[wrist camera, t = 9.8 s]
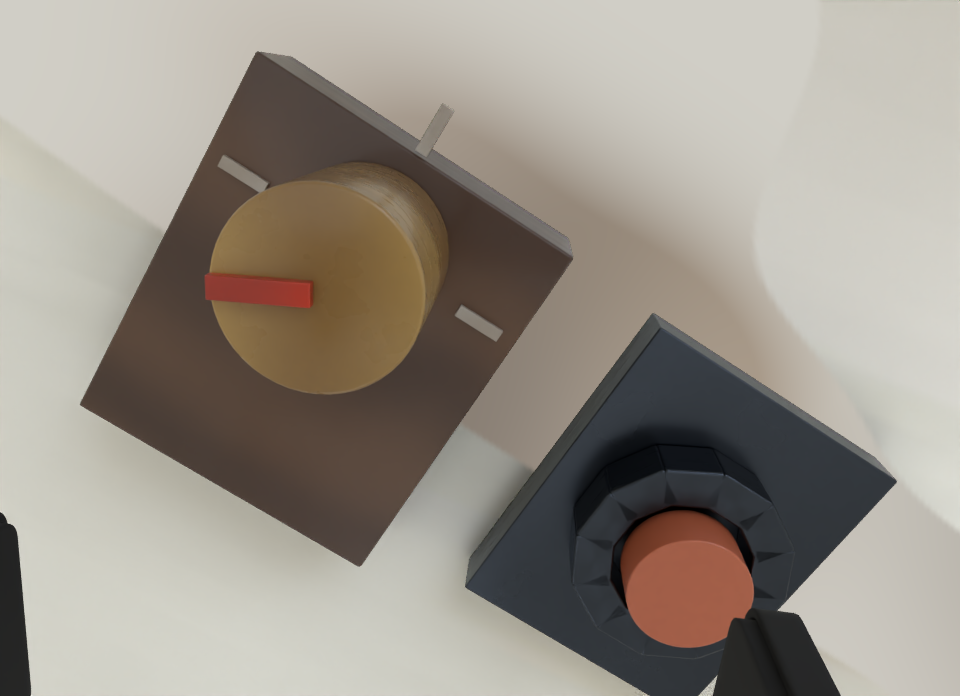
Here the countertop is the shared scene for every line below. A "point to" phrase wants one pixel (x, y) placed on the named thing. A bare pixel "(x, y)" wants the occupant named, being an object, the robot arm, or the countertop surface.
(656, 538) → the button
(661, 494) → the button block
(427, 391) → the panel
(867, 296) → the countertop surface
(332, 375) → the knob
